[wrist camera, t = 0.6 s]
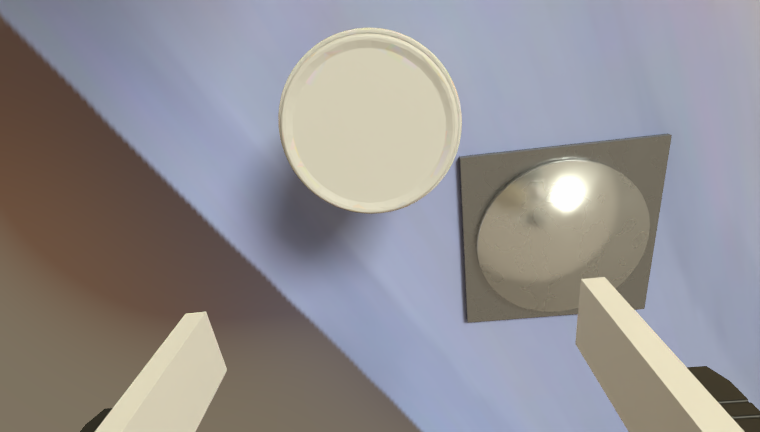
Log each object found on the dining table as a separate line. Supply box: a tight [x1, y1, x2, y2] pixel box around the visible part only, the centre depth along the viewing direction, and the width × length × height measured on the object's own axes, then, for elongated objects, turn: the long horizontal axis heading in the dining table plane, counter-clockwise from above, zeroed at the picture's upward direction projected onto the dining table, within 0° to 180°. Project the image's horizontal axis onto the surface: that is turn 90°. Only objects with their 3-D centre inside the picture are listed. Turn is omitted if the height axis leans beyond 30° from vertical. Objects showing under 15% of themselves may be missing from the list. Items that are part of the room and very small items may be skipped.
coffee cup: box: [279, 28, 462, 214], centre depth 25 cm, size 9×9×12 cm
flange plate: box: [459, 134, 672, 322], centre depth 34 cm, size 16×16×1 cm
